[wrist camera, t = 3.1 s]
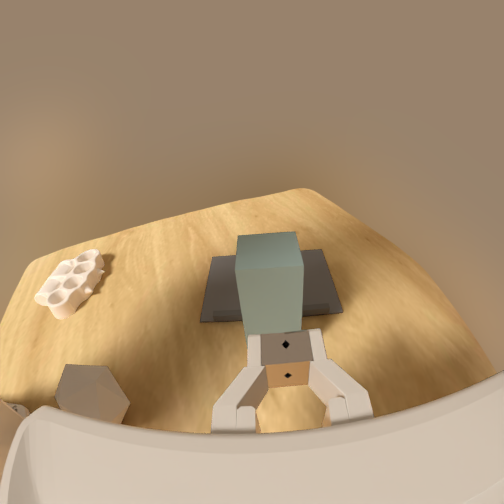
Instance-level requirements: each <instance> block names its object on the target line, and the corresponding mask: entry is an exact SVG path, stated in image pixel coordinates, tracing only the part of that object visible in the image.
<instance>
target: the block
mask: <svg viewBox="0 0 504 504" xmlns="http://www.w3.org/2000/svg"><path fill="white" fill-rule="evenodd" d="M235 274H236V281H237V287H238V294H239V300H240V306H241V313H242V319H243V325H244V331H245V337H246V343H247V349H248V336H249V335H253V334H269V333H284V332H290V331H299V330H301V324H302V304H303V277H304V264H303V260H302V256H301V252H300V248H299V244H298V240H297V236H296V233H295V232H280V233H266V234H252V235H239V236H238V240H237V252H236V263H235Z"/></svg>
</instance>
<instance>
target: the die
mask: <svg viewBox="0 0 504 504" xmlns="http://www.w3.org/2000/svg"><path fill="white" fill-rule="evenodd" d="M55 399H56V401H57V403H58V405H59V407H60V409H61V410H64V411H67V412H71V413H74V414H78V415H82V416H86V417H90V418H94V419H99V420H103V421H108V422H113V423H118V424H121V422H122V420H123V418H124V416H125V413H126V411H127V409H128V407H129V405H130V401H129V400H128V398H127V397H126V395H125V394H124V392H123V391H122V389H121V388H120V386H119V384H118V383H117V381H116V380H115V378H114V376H113V375H112V373H111V372H110V370H109V368H108V367H107V366H90V365H72V364H66V365H65V368H64V370H63V373H62V376H61V379H60V382H59V385H58V388H57V391H56V394H55Z"/></svg>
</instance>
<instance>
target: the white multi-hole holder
mask: <svg viewBox="0 0 504 504" xmlns="http://www.w3.org/2000/svg"><path fill="white" fill-rule="evenodd" d="M104 266H105V263H104V261H103V259H102V256H101V254H100V251H99V250H96V249H91V250H87V251H85V252H83V253H81V254H80V255H79V256H77V257H76V258H74V259H71V260H64V261H61V262H60V264H59V265H58V267H57V268H56V269H55V270H54V272H53V273H52V274H51V276H49V277H48V279H47V280H46V282H45V283H44V285H43V286H42V287H41V289H40V290H39V291H38V292H37V294H36V295H35V297H34V299H35V301H36V302H37V303H38V304H40V305H44V306H48V307H49V308H50V310H51V312H52V313H53V315H54V316H55V317H56V318H57V319H65V318H68V317H70V316H71V315H73V314H74V313H75V312H76V309H77V308H78V306H79V305H80V304H81V303H82V302H83V301H85V300H86V299H88V298H89V296H90V295H91V294H92V293H93V290H94V287H95V286H96V284H97V283H98V282H100V280H101V276H102V274H103V273H104V272H105V271H103V270H101V269H102V268H103V267H104Z"/></svg>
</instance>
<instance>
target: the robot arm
mask: <svg viewBox="0 0 504 504" xmlns="http://www.w3.org/2000/svg"><path fill="white" fill-rule="evenodd" d="M298 385H308V386H309V387H310V388H311V389H312V391H313V392H314V393H315V394H316V395H317V396H318V398H319V399H320V400H321V401H322V402H323V403H324V405H325V406H326V407H327V408H326V412H325V415H324V419H323V422H322V428H314V429H306V430H297V431H287V432H274V433H261V429H260V426H259V422H258V418H257V414H256V409H257V408H258V406H259V404H260V403H261V401H262V400H263V398H264V396H265V395H266V393H267V391H268V390H269V389H268V388H277V387H286V386H298ZM0 504H504V370H503V371H501V372H499V373H497V374H495V375H493V376H491V377H489V378H487V379H485V380H483V381H481V382H478V383H476V384H474V385H472V386H469V387H467V388H465V389H462V390H460V391H457V392H455V393H452V394H450V395H447V396H445V397H442V398H439V399H436V400H433V401H431V402H428V403H425V404H422V405H418V406H415V407H412V408H409V409H405V410H402V411H398V412H395V413H391V414H387V415H383V416H379V417H375V418H374V415H373V411H372V407H371V403H370V399H369V395H368V391H367V390H366V389H364V388H363V387H362V386H361V385H360V384H359V383H358V382H356V381H355V380H354V379H353V378H352V377H351V376H350V375H349V374H347V373H346V372H345V371H344V370H343V369H342V368H341V367H339V366H338V365H337V364H336V363H335V362H334V361H333V360H332V359H327V355H326V350H325V346H324V341H323V337H322V332H321V329H320V328H318V329H309V330H299V331H290V332H284V333H269V334H253V335H249V336H248V365H247V367H244V368H243V369H242V370H241V372H240V373H239V374H238V375H237V377H236V378H235V379H234V380H233V382H232V383H231V384H230V386H229V387H228V388H227V389H226V391H225V392H224V393H223V394H222V396H221V397H220V398H219V399H218V400H217V402H216V403H215V404H214V405H213V413H212V424H211V434H209V433H190V432H177V431H166V430H157V429H149V428H142V427H136V426H129V425H124V424H118V423H113V422H108V421H103V420H99V419H94V418H90V417H86V416H82V415H78V414H74V413H71V412H67V411H64V410H61V409H57V408H54V407H51V406H47V405H44V406H41V407H40V408H38V409H37V410H35V411H34V412H33V413H31V414H30V413H29V410H28V409H27V408H26V407H24V406H23V405H19V404H12V403H6V402H4V401H2V400H1V399H0Z"/></svg>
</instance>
